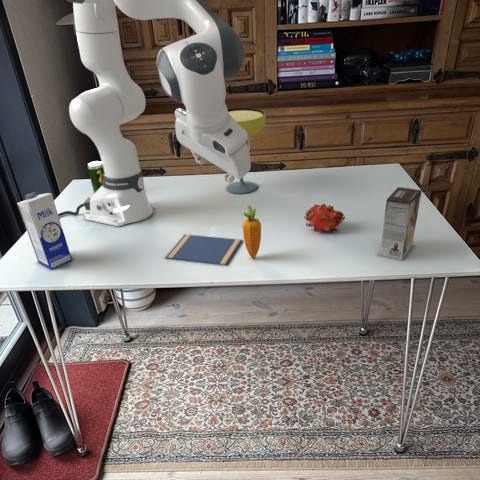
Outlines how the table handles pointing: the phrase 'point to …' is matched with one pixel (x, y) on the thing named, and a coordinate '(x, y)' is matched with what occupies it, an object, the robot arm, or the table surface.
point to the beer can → (95, 174)
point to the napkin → (204, 249)
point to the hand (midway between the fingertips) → (215, 171)
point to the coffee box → (400, 222)
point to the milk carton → (45, 229)
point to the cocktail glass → (252, 125)
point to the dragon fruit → (323, 218)
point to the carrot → (252, 232)
